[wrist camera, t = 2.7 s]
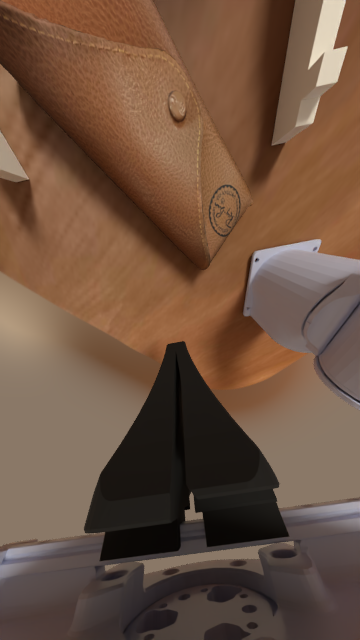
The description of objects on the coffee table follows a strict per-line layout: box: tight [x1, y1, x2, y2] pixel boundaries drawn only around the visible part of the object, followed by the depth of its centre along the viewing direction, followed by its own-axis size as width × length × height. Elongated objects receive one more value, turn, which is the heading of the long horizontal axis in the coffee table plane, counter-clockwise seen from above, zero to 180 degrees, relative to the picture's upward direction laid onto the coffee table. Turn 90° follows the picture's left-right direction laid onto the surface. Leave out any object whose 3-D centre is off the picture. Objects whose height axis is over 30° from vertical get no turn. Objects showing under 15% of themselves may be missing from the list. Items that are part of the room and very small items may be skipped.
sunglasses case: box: [0, 0, 253, 270], centre depth 10 cm, size 18×7×7 cm
